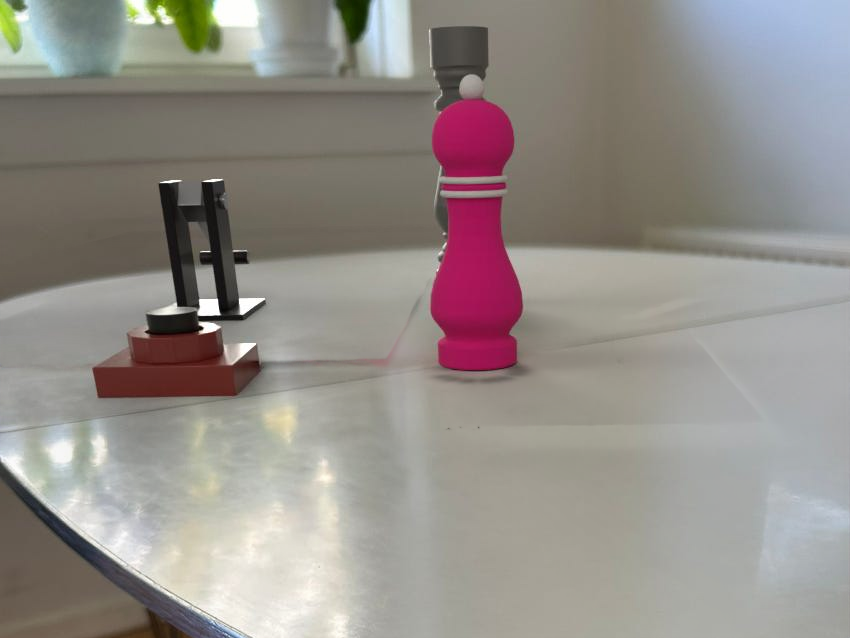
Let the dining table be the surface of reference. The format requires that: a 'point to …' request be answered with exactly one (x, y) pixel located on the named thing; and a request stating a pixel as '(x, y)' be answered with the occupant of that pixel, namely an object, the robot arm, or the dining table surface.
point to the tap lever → (201, 218)
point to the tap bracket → (221, 253)
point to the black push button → (172, 321)
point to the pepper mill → (475, 236)
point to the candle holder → (454, 83)
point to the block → (177, 365)
